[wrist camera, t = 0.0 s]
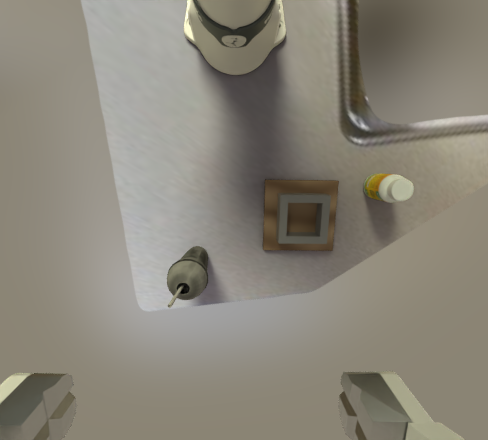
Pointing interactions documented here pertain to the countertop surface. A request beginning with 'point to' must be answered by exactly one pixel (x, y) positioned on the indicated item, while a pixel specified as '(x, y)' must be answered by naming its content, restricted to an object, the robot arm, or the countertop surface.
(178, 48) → the countertop surface
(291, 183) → the collar socket
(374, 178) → the supplement bottle
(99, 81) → the countertop surface
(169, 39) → the countertop surface
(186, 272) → the beverage cup
